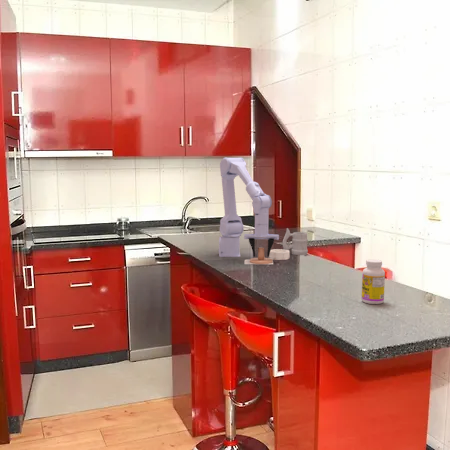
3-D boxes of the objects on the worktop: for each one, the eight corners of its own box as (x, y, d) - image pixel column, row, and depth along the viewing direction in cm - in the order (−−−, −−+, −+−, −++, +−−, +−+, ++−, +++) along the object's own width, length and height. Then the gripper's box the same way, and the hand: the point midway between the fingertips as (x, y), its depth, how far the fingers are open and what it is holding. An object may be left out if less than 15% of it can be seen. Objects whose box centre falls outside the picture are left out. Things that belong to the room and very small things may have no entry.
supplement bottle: (358, 299, 172) (359, 258, 171) (379, 299, 173) (380, 258, 171) (365, 304, 166) (367, 262, 164) (387, 304, 166) (388, 262, 165)
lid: (249, 263, 228) (249, 249, 227) (249, 259, 238) (249, 245, 237) (273, 264, 228) (273, 249, 227) (272, 260, 237) (272, 246, 236)
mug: (309, 255, 251) (310, 229, 249) (284, 255, 249) (284, 229, 248) (305, 252, 258) (306, 227, 257) (280, 252, 257) (281, 227, 256)
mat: (244, 264, 228) (244, 263, 228) (244, 260, 238) (244, 259, 238) (273, 265, 227) (273, 264, 227) (272, 260, 237) (272, 259, 237)
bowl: (268, 260, 238) (269, 252, 238) (268, 256, 247) (268, 249, 246) (289, 260, 238) (290, 252, 237) (288, 257, 246) (288, 249, 246)
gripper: (244, 225, 227) (243, 257, 229) (279, 225, 226) (279, 258, 228) (244, 223, 234) (244, 254, 236) (278, 223, 233) (278, 255, 235)
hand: (261, 256), depth 232 cm, fingers open, 5 cm apart
